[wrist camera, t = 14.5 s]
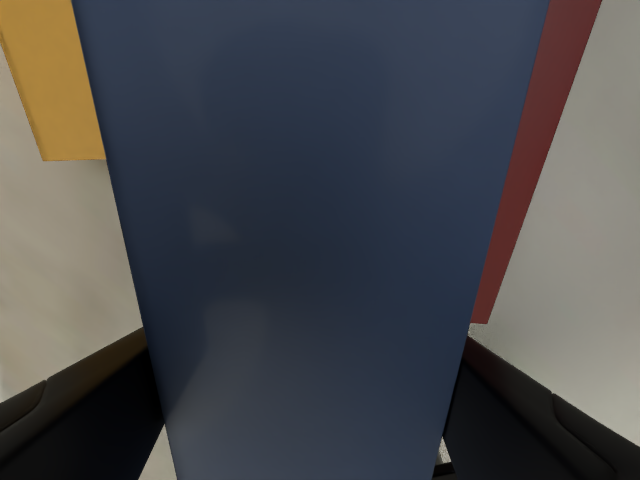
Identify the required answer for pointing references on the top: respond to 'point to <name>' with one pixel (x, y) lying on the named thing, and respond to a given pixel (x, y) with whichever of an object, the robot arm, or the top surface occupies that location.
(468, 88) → the middle book
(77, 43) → the top book
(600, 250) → the top surface
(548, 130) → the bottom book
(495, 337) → the top surface
